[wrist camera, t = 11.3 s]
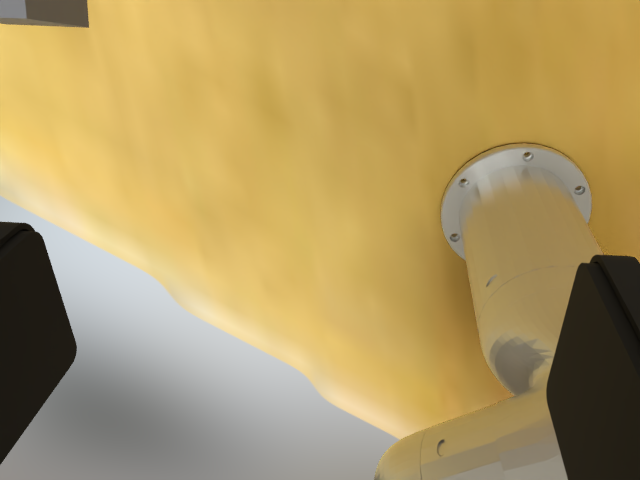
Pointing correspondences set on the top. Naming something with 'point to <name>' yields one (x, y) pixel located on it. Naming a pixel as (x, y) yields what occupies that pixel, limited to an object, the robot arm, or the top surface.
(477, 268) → the robot arm
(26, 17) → the carton lid
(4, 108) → the top surface
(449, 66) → the top surface
